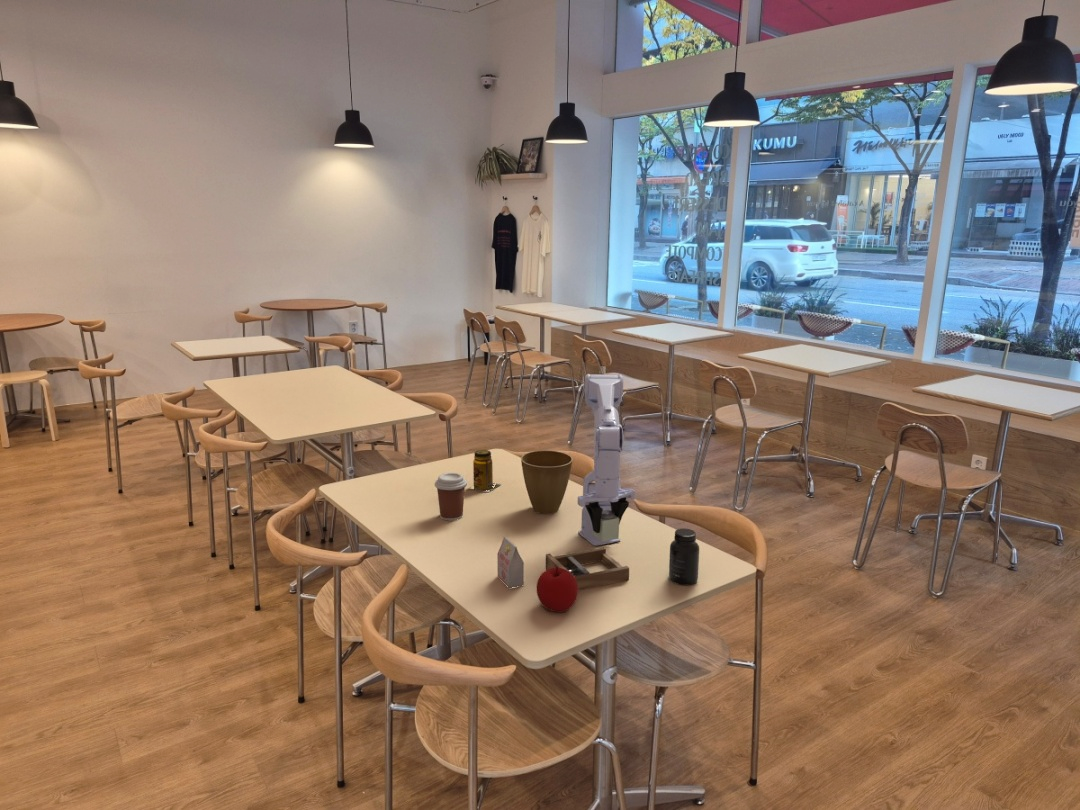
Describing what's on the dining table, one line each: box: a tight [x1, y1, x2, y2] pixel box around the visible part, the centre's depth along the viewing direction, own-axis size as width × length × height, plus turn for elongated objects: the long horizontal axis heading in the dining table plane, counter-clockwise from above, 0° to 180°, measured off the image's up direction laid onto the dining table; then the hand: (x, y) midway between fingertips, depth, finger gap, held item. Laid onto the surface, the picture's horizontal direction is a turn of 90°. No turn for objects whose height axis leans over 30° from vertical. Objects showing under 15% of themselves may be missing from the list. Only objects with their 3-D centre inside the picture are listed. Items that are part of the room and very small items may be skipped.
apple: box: [536, 567, 579, 613], centre depth 159 cm, size 9×9×10 cm
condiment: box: [468, 449, 502, 493], centre depth 231 cm, size 7×8×12 cm
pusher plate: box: [566, 556, 591, 576], centre depth 173 cm, size 9×5×3 cm, turn 24°
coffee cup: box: [434, 472, 468, 522], centre depth 208 cm, size 9×9×12 cm
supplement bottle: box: [668, 527, 700, 586], centre depth 172 cm, size 7×7×12 cm
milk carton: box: [496, 536, 525, 589], centre depth 170 cm, size 4×7×10 cm, turn 26°
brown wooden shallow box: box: [544, 547, 630, 591], centre depth 175 cm, size 12×16×4 cm
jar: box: [593, 510, 620, 542], centre depth 175 cm, size 4×4×6 cm
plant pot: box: [520, 449, 574, 515], centre depth 213 cm, size 15×15×16 cm
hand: (605, 529), depth 175 cm, fingers closed on jar, 4 cm apart
